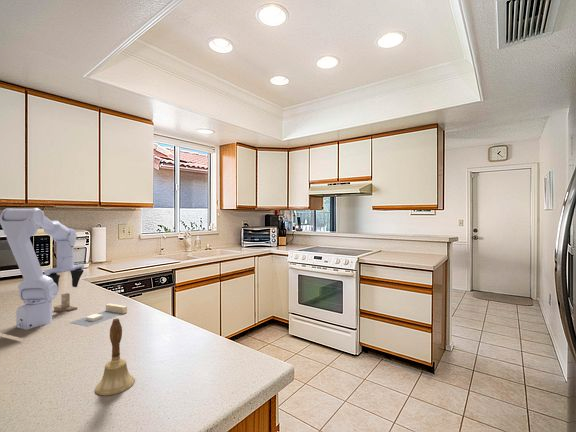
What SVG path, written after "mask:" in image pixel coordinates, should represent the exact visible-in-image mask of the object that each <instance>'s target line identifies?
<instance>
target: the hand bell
mask: <svg viewBox="0 0 576 432" xmlns="http://www.w3.org/2000/svg"><path fill="white" fill-rule="evenodd" d="M112 319H113V320H112V323H111V324H110V325H111V326H110V329H109V340H110V343H111V347H112V348H111V360H109V361H108V362H107V363H105V365H104V371H103V374H102V377H101V379H100V380H99V382H98V383H97V384H96V386H95V387H94V392H95V393H96V394H97V395H99V396H112V395H117V394H120V393H123V392H126V391H127V390H129V389H130V388H131V387H132V386H133V385H134V384H135V383H136V379H135V377H134V375H132V374H130V372H129V369H128V364H127V361H126V360H125V359H124V358H121V352H120V349H121V348H120V345H121V341H122V337H123V326H122V324H121V321H120V319H119V318H112Z"/></svg>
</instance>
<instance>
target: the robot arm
mask: <svg viewBox="0 0 576 432" xmlns="http://www.w3.org/2000/svg"><path fill="white" fill-rule="evenodd" d="M0 226H1V228H2V231H3V233H4V235H5V236H6V240H7V243H8V245H9V247H10V249H11V252H12V255H13V257H14V259H15V262H16V264H17V267H18V269H19V271H20V274H21V275H22V279H23V280H22V281H21V282H20V283H19V285H18V287H17V288H18V295H19V298H20V300H21V301H23V305H20V306H18V308H17V309H16V315H15V316H16V319H15V320H16V321H15V322H16V323H15V324H16V328H18V329H20V330H25V331H26V330H30V329H33V328H37V327H40V326H41V327H42V326H45V325H47V324H50V323H52V322H53V300H55V298H56V297H57V296H58V293H59V281H60V277H61V275H60V273H66V272H70V274H71V286H72V288H78V285H79V282H80V279H81V277H82V276H83V273H84V269H85V264H81V263H80V264H75V262H74V261H75V259H74V258H75V257H74V256H75V255H74V248H75V247H74V246H75V245H76V240H77V237H78V236H77V231H76V230H75V229H73V228H72V227H71V228H69V227H67V226H66V225H64V224H62V223H61V222H60V221H59V220H51V219H50V218H48V217H47V216H45V212H44V211H43V210H41V209H40V208H39V207H34V208H13V207H12V208H10V207H7V208H5V209H3V210H2V212H1V214H0ZM40 228H42V229H43V231H44V233H45V234H47V235H48V236H50V237H51V238H52V239H53V241H54V242H55V243H56V267H53V268H49V269H44V272H43V269H42V267H41V264H40V261H39V259H38V257H37V254H36V252H35V249H34V246H33V243H32V241H31V237H33V236H35V235H36V234H37V233H38V231H39V229H40Z"/></svg>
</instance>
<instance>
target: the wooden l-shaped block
mask: <svg viewBox="0 0 576 432" xmlns="http://www.w3.org/2000/svg"><path fill="white" fill-rule="evenodd" d="M60 295H61V299H60V300H61V302H60V303H61V304H59V305H55V306H53V312H56V313H57V312H58V313H64V312H72V311H76V310H78V307H77V306H72V305H70V304H71V303H70V302H71V301H70V298H71V296H70V293H67V292H65V293H62V294H60Z"/></svg>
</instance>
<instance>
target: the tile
mask: <svg viewBox="0 0 576 432" xmlns="http://www.w3.org/2000/svg"><path fill="white" fill-rule="evenodd" d="M85 317H86V320H87V321H96V320H99V319H102V318H103V315H101V314H97V313H93V314H90V315H88V316H85Z"/></svg>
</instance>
